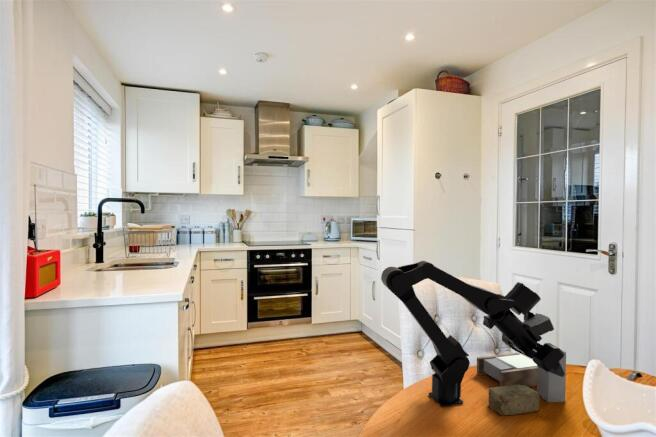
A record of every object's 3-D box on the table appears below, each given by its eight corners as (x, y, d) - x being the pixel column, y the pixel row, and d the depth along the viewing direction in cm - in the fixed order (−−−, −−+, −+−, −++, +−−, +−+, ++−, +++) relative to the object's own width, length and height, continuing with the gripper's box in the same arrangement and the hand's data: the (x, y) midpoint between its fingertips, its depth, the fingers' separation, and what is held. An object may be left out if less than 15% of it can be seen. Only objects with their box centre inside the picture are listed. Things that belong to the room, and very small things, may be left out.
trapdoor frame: (502, 390, 99) (502, 372, 99) (476, 373, 109) (476, 357, 109) (545, 384, 103) (546, 366, 103) (517, 368, 113) (517, 352, 113)
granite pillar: (548, 402, 93) (549, 352, 93) (536, 393, 98) (537, 345, 98) (565, 401, 94) (566, 352, 93) (552, 392, 98) (554, 345, 98)
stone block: (541, 412, 89) (541, 392, 89) (501, 418, 86) (501, 398, 86) (523, 400, 94) (523, 381, 94) (485, 406, 92) (485, 386, 92)
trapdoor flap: (501, 383, 101) (502, 369, 101) (482, 370, 108) (482, 358, 108) (542, 377, 104) (542, 364, 104) (520, 365, 112) (520, 354, 112)
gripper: (557, 315, 86) (600, 360, 87) (512, 296, 104) (548, 334, 105) (524, 349, 85) (568, 393, 86) (485, 324, 104) (522, 361, 105)
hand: (551, 367), depth 96 cm, fingers open, 9 cm apart
